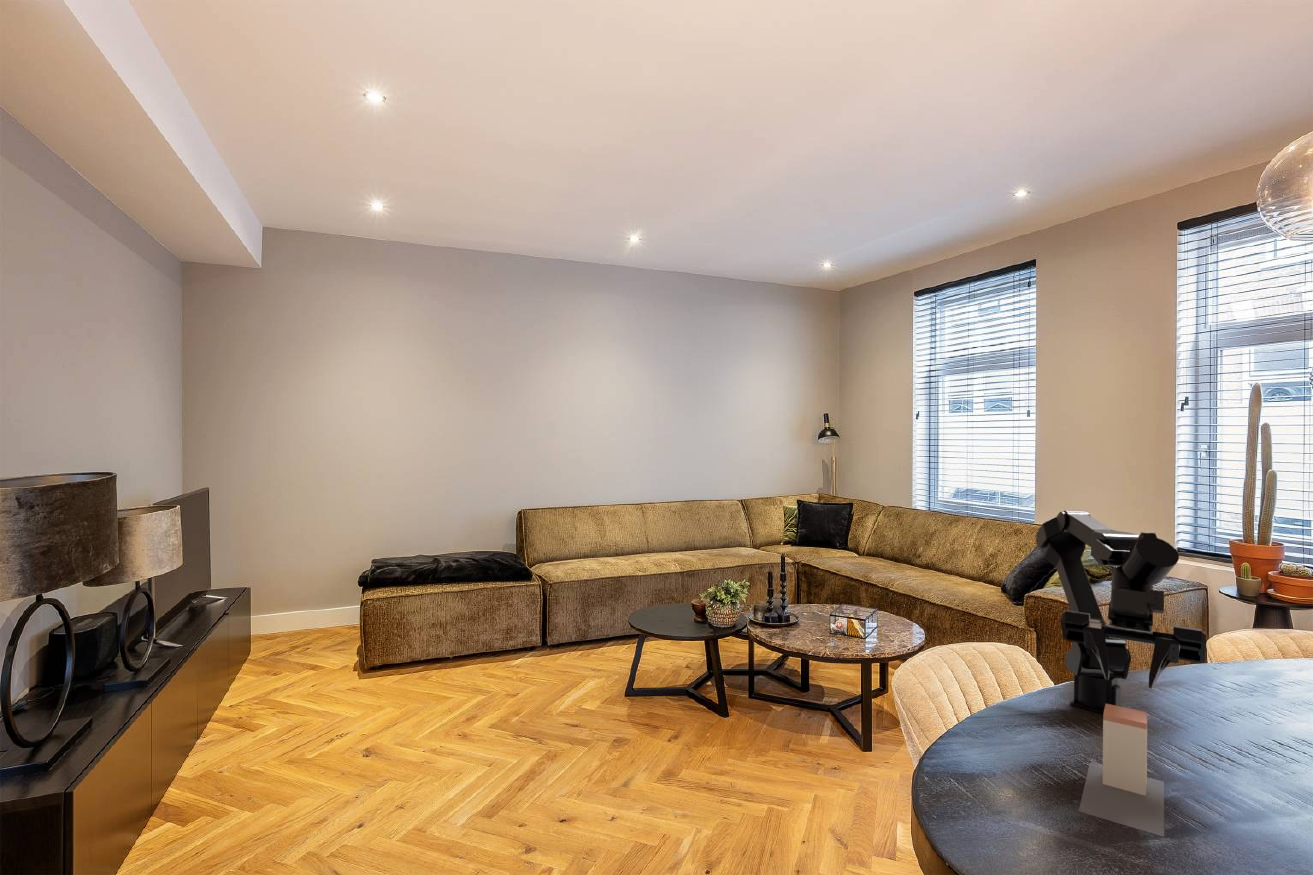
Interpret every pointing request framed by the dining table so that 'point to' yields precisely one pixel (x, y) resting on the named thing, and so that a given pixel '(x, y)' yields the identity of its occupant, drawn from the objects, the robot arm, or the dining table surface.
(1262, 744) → the dining table surface
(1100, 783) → the charcoal mat
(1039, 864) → the dining table surface
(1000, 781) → the dining table surface
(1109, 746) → the cream block
